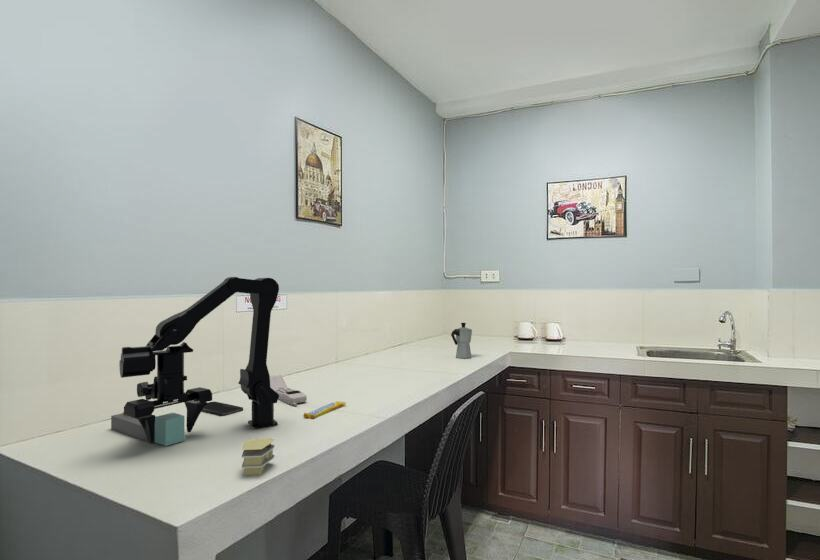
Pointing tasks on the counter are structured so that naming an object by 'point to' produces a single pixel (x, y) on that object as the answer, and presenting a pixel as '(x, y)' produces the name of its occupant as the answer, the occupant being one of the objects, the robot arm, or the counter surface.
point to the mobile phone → (286, 391)
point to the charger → (169, 429)
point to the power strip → (129, 426)
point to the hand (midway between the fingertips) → (170, 437)
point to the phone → (221, 409)
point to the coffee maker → (462, 341)
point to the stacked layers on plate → (257, 455)
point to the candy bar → (324, 410)
